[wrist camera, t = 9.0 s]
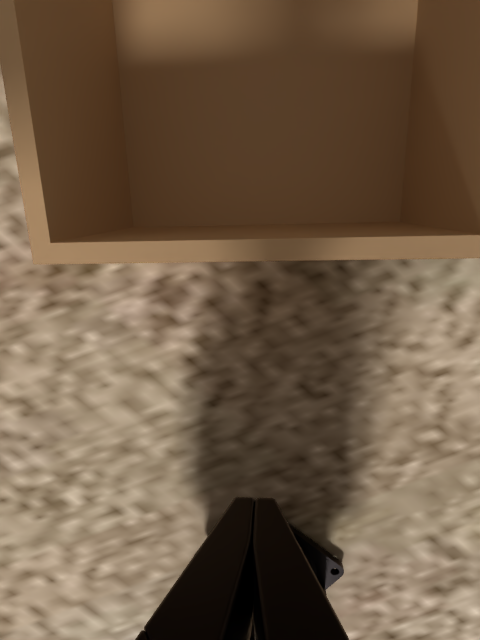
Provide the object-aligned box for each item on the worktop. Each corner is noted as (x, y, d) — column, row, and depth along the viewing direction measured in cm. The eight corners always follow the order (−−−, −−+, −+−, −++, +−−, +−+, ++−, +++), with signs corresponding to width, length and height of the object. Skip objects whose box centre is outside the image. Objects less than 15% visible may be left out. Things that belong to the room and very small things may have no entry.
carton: (408, 234, 18) (504, 257, 11) (126, 239, 19) (33, 264, 12) (438, -98, 15) (606, -400, 7) (95, -71, 16) (-62, -312, 9)
